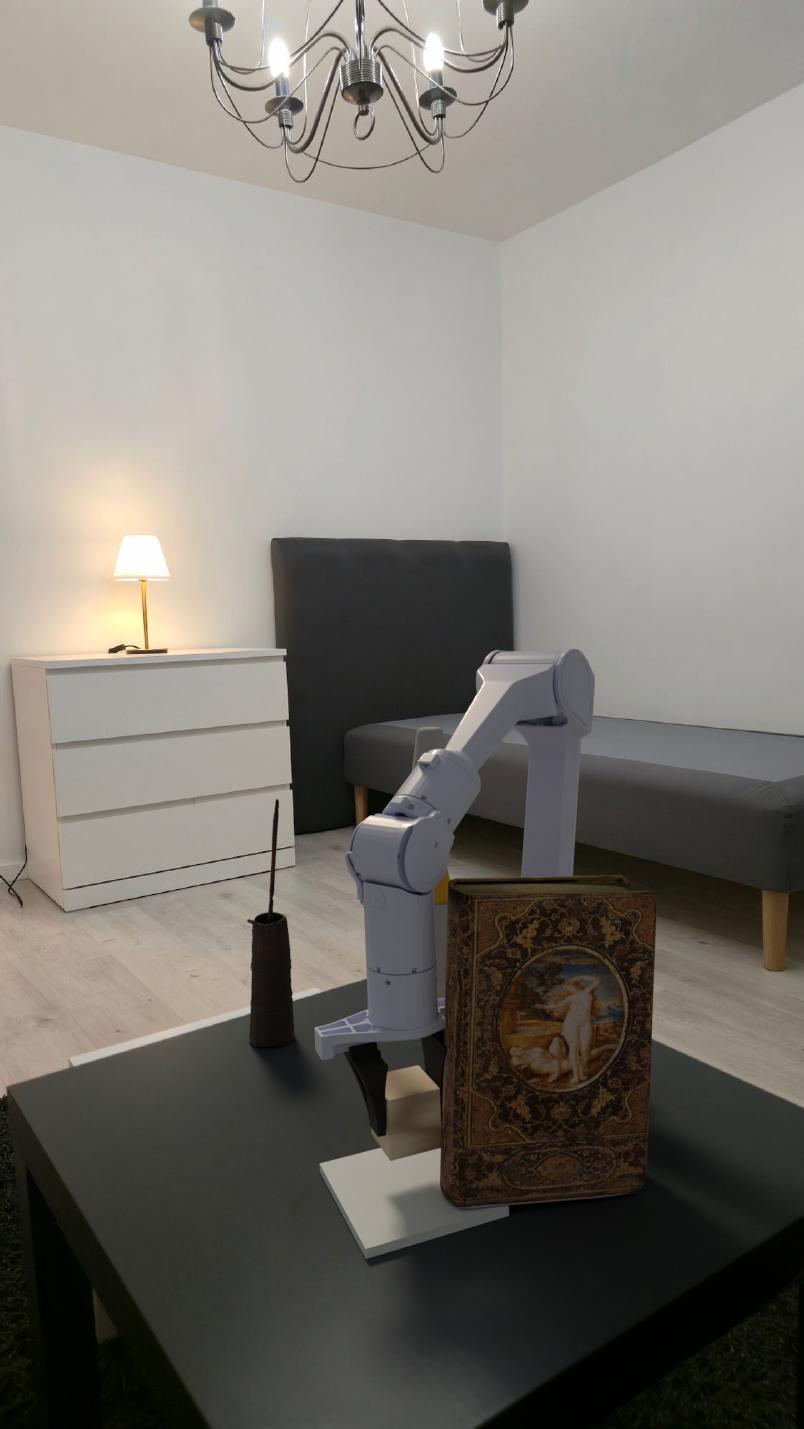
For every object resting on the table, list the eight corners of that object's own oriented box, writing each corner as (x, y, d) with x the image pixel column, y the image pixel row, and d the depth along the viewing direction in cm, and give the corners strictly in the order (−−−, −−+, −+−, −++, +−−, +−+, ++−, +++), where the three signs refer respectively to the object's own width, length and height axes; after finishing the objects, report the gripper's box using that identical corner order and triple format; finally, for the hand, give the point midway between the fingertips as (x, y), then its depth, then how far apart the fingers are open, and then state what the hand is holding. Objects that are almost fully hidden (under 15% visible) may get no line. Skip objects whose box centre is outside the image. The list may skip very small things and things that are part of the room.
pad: (446, 1139, 83) (445, 1131, 83) (509, 1215, 72) (508, 1206, 72) (319, 1172, 78) (319, 1163, 78) (365, 1259, 67) (365, 1249, 67)
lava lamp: (492, 1012, 110) (483, 725, 107) (443, 1038, 104) (432, 733, 100) (436, 993, 116) (426, 722, 113) (386, 1017, 110) (375, 729, 107)
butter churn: (239, 1069, 98) (225, 813, 95) (214, 1036, 106) (200, 800, 104) (318, 1049, 102) (306, 803, 99) (288, 1018, 110) (277, 791, 108)
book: (448, 1210, 71) (457, 895, 69) (434, 1171, 76) (442, 878, 75) (645, 1194, 74) (658, 891, 72) (618, 1157, 79) (629, 874, 77)
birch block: (420, 1121, 78) (418, 1065, 78) (441, 1147, 74) (439, 1088, 73) (371, 1133, 76) (368, 1076, 76) (390, 1161, 72) (387, 1100, 72)
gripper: (461, 934, 80) (465, 1082, 81) (301, 961, 74) (308, 1119, 76) (498, 959, 73) (503, 1120, 74) (326, 991, 68) (334, 1164, 69)
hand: (407, 1123), depth 75 cm, fingers closed on birch block, 4 cm apart
